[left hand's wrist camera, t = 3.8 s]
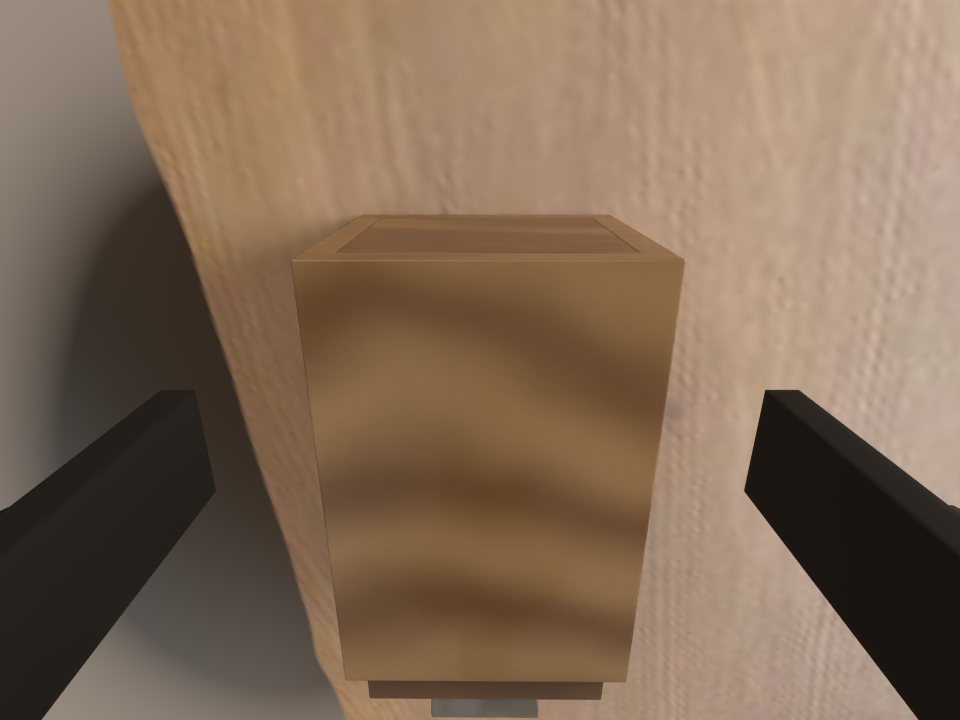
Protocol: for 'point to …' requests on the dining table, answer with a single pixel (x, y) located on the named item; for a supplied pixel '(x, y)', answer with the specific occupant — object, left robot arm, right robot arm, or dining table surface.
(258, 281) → the dining table surface
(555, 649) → the cabinet
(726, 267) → the dining table surface
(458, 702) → the drawer
